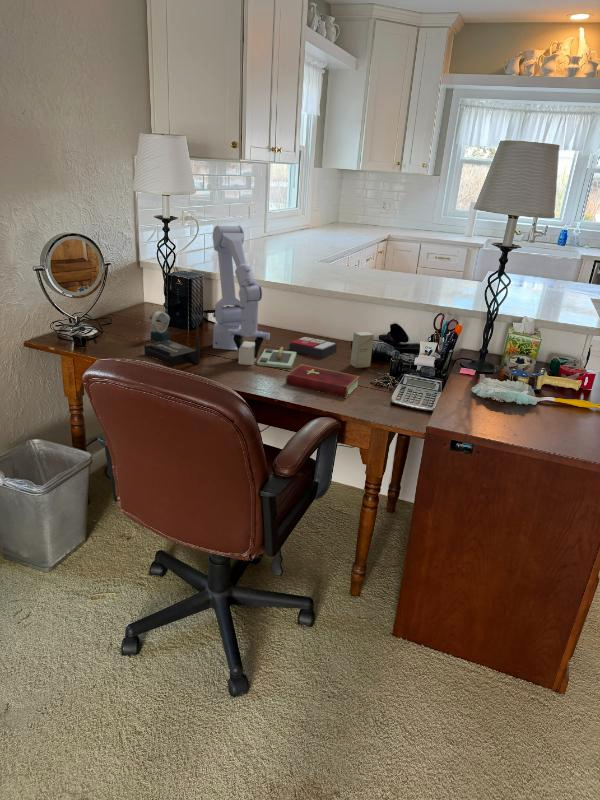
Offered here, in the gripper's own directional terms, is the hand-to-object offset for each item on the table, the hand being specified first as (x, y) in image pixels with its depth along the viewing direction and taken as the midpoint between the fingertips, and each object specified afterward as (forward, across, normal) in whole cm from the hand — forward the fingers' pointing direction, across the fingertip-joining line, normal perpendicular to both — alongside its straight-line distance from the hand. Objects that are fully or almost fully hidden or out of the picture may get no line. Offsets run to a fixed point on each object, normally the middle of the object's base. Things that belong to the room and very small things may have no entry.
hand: (248, 356), depth 199 cm
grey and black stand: (+2, -25, -6) cm, 26 cm away
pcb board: (+1, +10, +4) cm, 11 cm away
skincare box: (+2, +40, +7) cm, 41 cm away
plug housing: (+1, 0, 0) cm, 1 cm away
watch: (+2, -37, +13) cm, 39 cm away
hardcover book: (+2, +28, -17) cm, 33 cm away
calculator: (+2, +22, +19) cm, 28 cm away
